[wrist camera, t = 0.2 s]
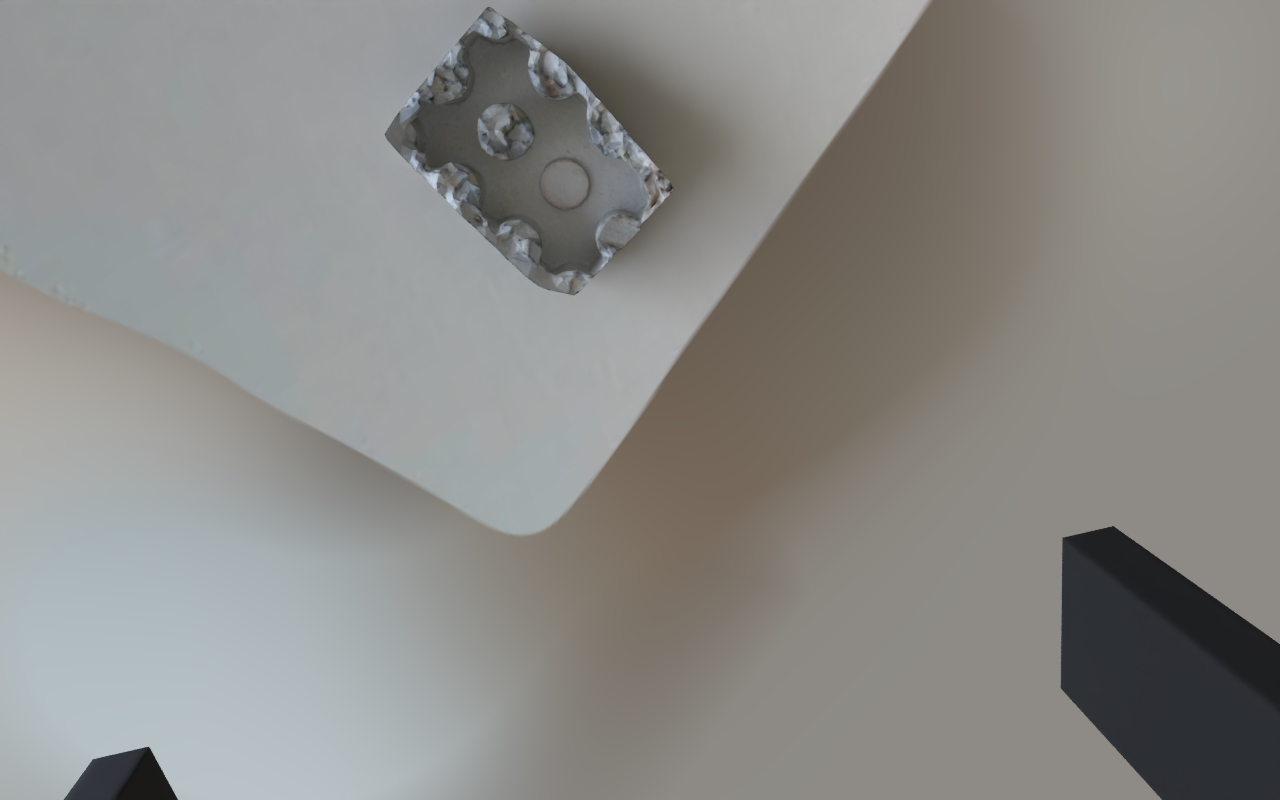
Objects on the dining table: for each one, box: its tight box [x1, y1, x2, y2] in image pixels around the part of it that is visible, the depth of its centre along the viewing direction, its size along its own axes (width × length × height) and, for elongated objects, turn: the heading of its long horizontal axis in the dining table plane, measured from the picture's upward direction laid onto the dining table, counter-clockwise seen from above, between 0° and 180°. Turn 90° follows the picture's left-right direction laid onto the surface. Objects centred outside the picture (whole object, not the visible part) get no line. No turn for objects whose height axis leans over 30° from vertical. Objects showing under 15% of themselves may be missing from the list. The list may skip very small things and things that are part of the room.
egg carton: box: [385, 7, 674, 295], centre depth 33 cm, size 11×8×4 cm
